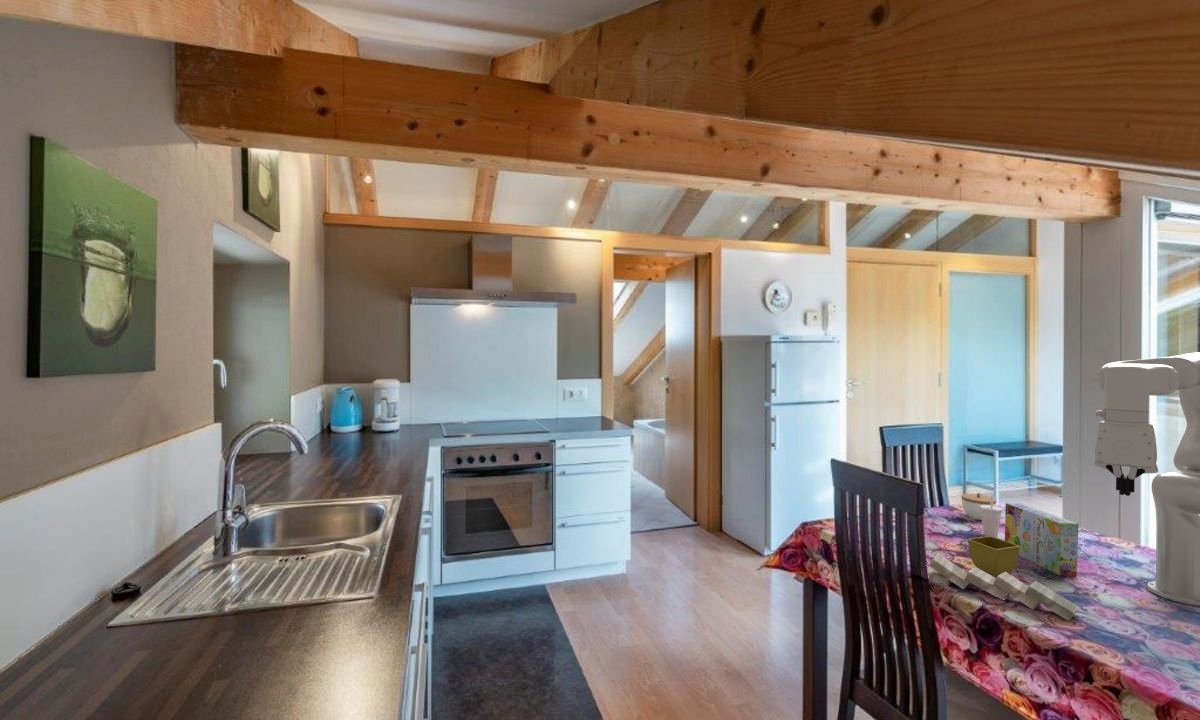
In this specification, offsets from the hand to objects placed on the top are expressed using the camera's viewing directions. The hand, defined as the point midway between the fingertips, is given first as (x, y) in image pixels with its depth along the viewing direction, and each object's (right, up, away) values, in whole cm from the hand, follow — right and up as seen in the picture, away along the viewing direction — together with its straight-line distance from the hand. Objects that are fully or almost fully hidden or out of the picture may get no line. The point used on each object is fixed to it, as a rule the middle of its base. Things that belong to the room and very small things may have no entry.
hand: (1125, 494), depth 125 cm
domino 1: (-29, -28, +18) cm, 44 cm away
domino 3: (-21, -28, +9) cm, 36 cm away
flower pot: (-13, -29, +24) cm, 40 cm away
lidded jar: (+19, -28, +75) cm, 83 cm away
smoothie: (+9, -29, +56) cm, 63 cm away
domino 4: (-17, -28, +4) cm, 33 cm away
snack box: (+7, -29, +33) cm, 45 cm away
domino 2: (-26, -28, +16) cm, 41 cm away
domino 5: (-13, -28, -1) cm, 31 cm away
